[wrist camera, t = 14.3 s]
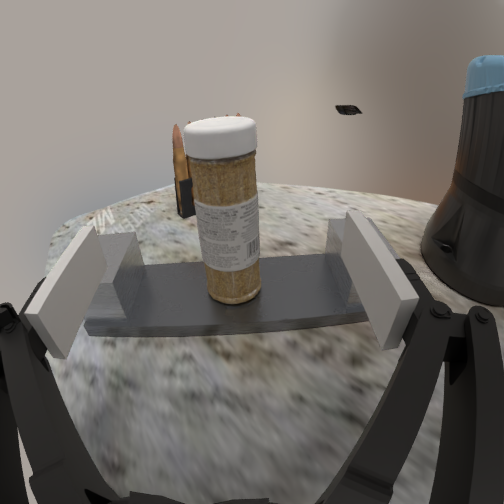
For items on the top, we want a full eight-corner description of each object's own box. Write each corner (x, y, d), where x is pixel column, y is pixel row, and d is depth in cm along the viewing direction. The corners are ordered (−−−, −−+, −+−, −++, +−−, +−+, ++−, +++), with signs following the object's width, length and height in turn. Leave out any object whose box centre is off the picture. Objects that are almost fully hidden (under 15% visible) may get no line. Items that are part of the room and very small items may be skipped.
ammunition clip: (244, 191, 45) (240, 111, 38) (251, 195, 44) (248, 112, 37) (177, 214, 40) (165, 125, 33) (183, 219, 39) (171, 126, 32)
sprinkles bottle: (231, 265, 28) (217, 113, 20) (272, 283, 26) (270, 117, 18) (195, 292, 25) (167, 126, 18) (238, 315, 23) (221, 130, 15)
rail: (359, 260, 30) (367, 215, 27) (389, 317, 23) (406, 267, 20) (113, 276, 29) (98, 232, 26) (89, 335, 22) (64, 288, 19)
